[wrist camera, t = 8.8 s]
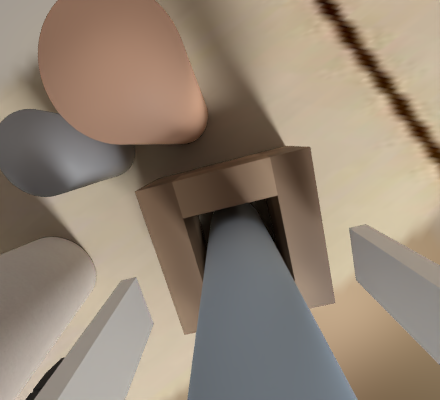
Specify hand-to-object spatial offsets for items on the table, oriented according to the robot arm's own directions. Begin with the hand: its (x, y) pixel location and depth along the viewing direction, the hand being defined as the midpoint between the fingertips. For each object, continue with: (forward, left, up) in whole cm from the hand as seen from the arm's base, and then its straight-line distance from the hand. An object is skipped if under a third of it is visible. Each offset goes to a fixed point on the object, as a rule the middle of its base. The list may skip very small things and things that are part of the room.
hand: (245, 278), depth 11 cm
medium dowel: (-2, +9, -8) cm, 12 cm away
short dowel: (-8, +8, -8) cm, 14 cm away
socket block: (0, 0, -8) cm, 8 cm away
